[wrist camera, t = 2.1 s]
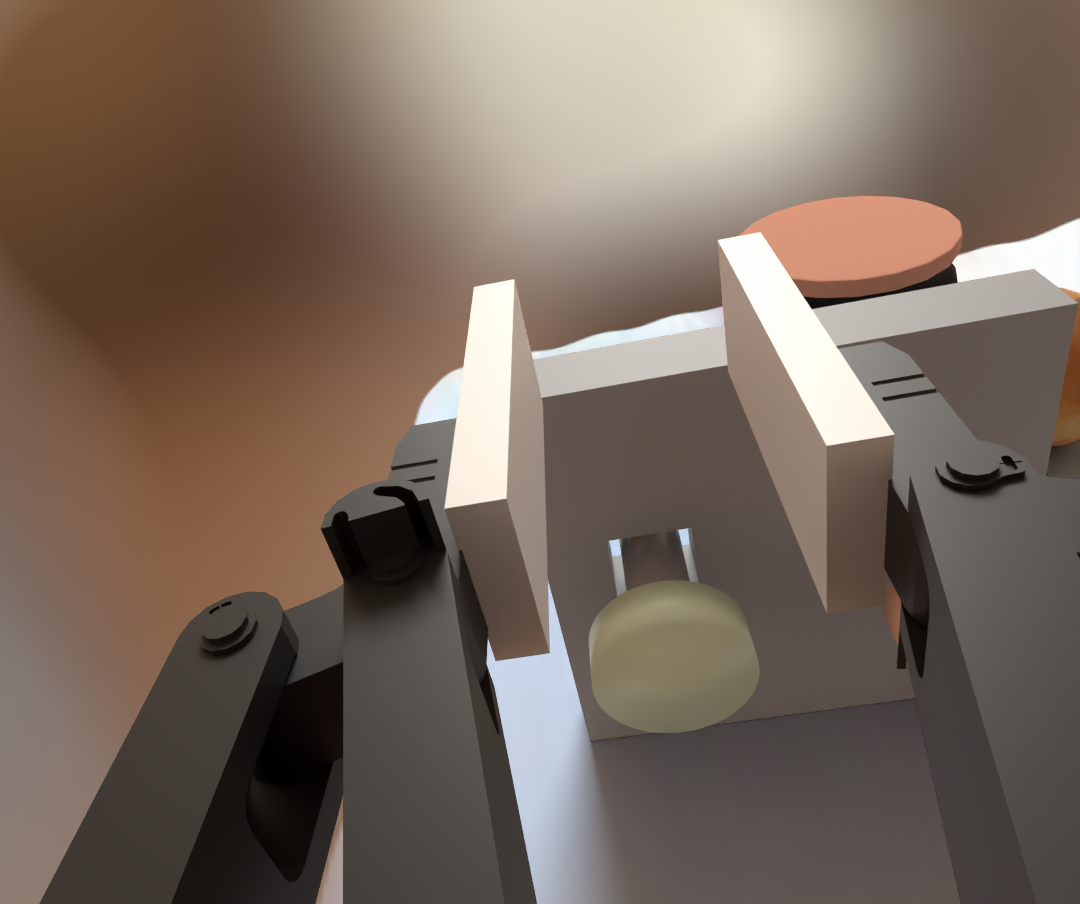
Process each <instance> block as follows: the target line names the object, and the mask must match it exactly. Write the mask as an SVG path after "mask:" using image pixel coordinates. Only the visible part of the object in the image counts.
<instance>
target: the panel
mask: <svg viewBox="0 0 1080 904" xmlns="http://www.w3.org/2000/svg"><path fill="white" fill-rule="evenodd" d="M1077 307H1078V303H1077V302H1076V301H1075V300H1074V299H1072V298H1071V297H1070V296H1068V295H1067V294H1066V293H1064V292H1063V291H1062V290H1060V289H1059V288H1058V287H1057V286H1055V285H1054V284H1053V283H1051V282H1050V281H1049V280H1047V279H1046V278H1045V277H1043V276H1042V275H1041V274H1040V273H1038V272H1037V271H1036V270H1034V269H1031V270H1026V271H1020V272H1015V273H1009V274H1004V275H998V276H993V277H987V278H982V279H976V280H971V281H965V282H960V283H954V284H949V285H943V286H938V287H932V288H927V289H921V290H916V291H910V292H905V293H899V294H894V295H888V296H882V297H877V298H871V299H866V300H860V301H855V302H849V303H844V304H838V305H833V306H827V307H822V308H816V309H812V311H813V312H814V314H815V315H816V317H817V318H818V320H819V321H820V323H821V324H822V326H823V327H824V329H825V330H826V332H827V333H828V335H829V336H830V338H831V339H832V341H833V342H834V344H835V345H836V347H837V348H838V349H840V348H846V347H851V346H857V345H863V344H868V343H874V342H880V341H883V342H885V343H887V344H889V345H891V346H893V347H894V348H896V349H898V350H900V351H902V352H904V353H906V354H908V355H909V356H910V357H911V358H912V359H913V360H914V362H915V363H916V364H917V365H918V367H919V368H920V369H921V370H922V372H923V373H924V377H927V378H928V379H929V380H930V382H931V383H932V384H933V385H934V387H935V388H936V392H937V393H938V392H939V393H940V394H941V395H942V397H943V398H944V399H945V400H946V401H947V403H948V404H949V405H950V406H951V408H952V409H953V410H954V411H955V413H956V414H957V415H958V416H959V418H960V419H961V420H962V421H963V423H964V424H965V425H966V426H967V428H968V429H969V430H970V431H971V433H972V434H973V435H974V436H975V437H976V439H977V440H983V441H987V442H991V443H995V444H998V445H1002V446H1006V447H1008V448H1010V449H1011V450H1013V451H1015V452H1017V453H1019V454H1021V455H1023V456H1024V457H1025V458H1026V459H1027V460H1028V461H1029V463H1030V464H1031V465H1032V466H1033V467H1034V468H1035V470H1036V472H1037V474H1038V475H1042V476H1046V474H1047V469H1048V463H1049V458H1050V452H1051V447H1052V442H1053V436H1054V431H1055V426H1056V420H1057V415H1058V409H1059V404H1060V399H1061V393H1062V388H1063V383H1064V377H1065V372H1066V366H1067V361H1068V356H1069V350H1070V345H1071V340H1072V334H1073V329H1074V323H1075V318H1076V313H1077ZM533 363H534V367H535V372H536V376H537V380H538V385H539V389H540V393H541V398H542V402H543V425H544V461H545V498H546V534H547V571H548V581H549V585H550V589H551V592H552V596H553V600H554V604H555V608H556V611H557V615H558V619H559V623H560V627H561V631H562V634H563V638H564V642H565V646H566V650H567V653H568V657H569V661H570V665H571V669H572V672H573V676H574V680H575V684H576V688H577V692H578V695H579V699H580V703H581V707H582V711H583V714H584V718H585V722H586V726H587V730H588V733H589V737H590V741H597V740H604V739H612V738H619V737H627V736H634V735H642V734H649V733H655V732H648V731H642V730H638V729H634V728H631V727H629V726H626V725H624V724H622V723H620V722H618V721H616V720H615V719H613V718H612V717H610V716H609V715H608V714H607V713H606V712H604V711H603V709H602V708H601V707H600V706H599V704H598V702H597V701H596V699H595V696H594V694H593V689H592V680H591V667H590V654H589V633H590V629H591V626H592V624H593V622H594V620H595V618H596V617H597V615H598V614H599V613H600V611H601V610H602V609H603V608H604V607H605V606H606V605H607V604H608V603H609V602H611V601H612V600H613V599H615V598H616V597H618V596H619V595H621V594H623V593H625V592H627V591H626V584H625V577H624V570H623V563H622V555H620V556H613V557H612V553H611V548H610V543H609V540H616V539H622V538H629V537H635V536H641V535H648V534H654V533H660V532H667V531H673V530H679V529H686V528H688V533H689V541H690V545H684V546H682V549H683V553H684V557H685V562H686V566H687V570H688V575H689V579H690V581H692V582H698V583H702V584H705V585H709V586H712V587H714V588H716V589H718V590H720V591H722V592H724V593H725V594H727V595H728V596H730V597H731V598H732V599H733V600H734V601H735V602H736V603H737V604H738V605H739V606H740V608H741V610H742V611H743V613H744V616H745V618H746V621H747V624H748V628H749V631H750V635H751V638H752V641H753V645H754V648H755V652H756V655H757V658H758V662H759V668H760V675H759V680H758V684H757V686H756V689H755V691H754V693H753V694H752V696H751V697H750V699H749V700H748V701H747V702H746V703H745V704H744V705H743V706H742V707H741V708H740V709H739V710H738V711H736V712H735V713H733V714H732V715H731V716H729V717H727V718H725V719H724V720H722V721H720V722H717V723H715V724H713V725H717V724H725V723H732V722H740V721H747V720H755V719H762V718H770V717H777V716H785V715H792V714H800V713H807V712H815V711H822V710H830V709H837V708H845V707H852V706H860V705H867V704H875V703H883V702H890V701H898V700H905V699H913V698H915V696H914V692H913V687H912V683H911V679H910V674H909V670H908V666H907V664H906V669H897V654H898V646H897V644H896V642H895V639H894V637H893V635H892V633H891V631H890V629H889V627H888V625H887V623H886V620H885V616H884V605H879V606H873V607H866V608H859V609H852V610H845V611H838V612H831V613H827V612H826V610H825V608H824V605H823V603H822V600H821V598H820V595H819V593H818V590H817V588H816V585H815V583H814V581H813V578H812V576H811V573H810V571H809V568H808V566H807V563H806V561H805V559H804V556H803V554H802V551H801V549H800V546H799V544H798V541H797V539H796V536H795V534H794V532H793V529H792V527H791V524H790V522H789V519H788V517H787V514H786V512H785V510H784V507H783V505H782V502H781V500H780V497H779V495H778V492H777V490H776V487H775V485H774V483H773V480H772V478H771V475H770V473H769V470H768V468H767V465H766V463H765V461H764V458H763V456H762V453H761V451H760V448H759V446H758V443H757V441H756V438H755V436H754V434H753V431H752V429H751V426H750V424H749V421H748V419H747V416H746V414H745V412H744V409H743V407H742V404H741V402H740V399H739V397H738V394H737V392H736V389H735V387H734V385H733V382H732V380H731V377H730V375H729V372H728V364H727V351H726V338H725V325H723V326H717V327H712V328H706V329H701V330H695V331H690V332H684V333H679V334H673V335H668V336H662V337H656V338H651V339H645V340H640V341H634V342H629V343H623V344H618V345H612V346H607V347H601V348H596V349H590V350H585V351H579V352H574V353H568V354H563V355H557V356H552V357H546V358H541V359H535V360H533ZM891 584H892V582H891V580H890V578H889V576H888V574H887V585H886V595H887V592H888V590H889V588H890V586H891Z"/></svg>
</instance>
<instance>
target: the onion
mask: <svg viewBox="0 0 1080 904" xmlns="http://www.w3.org/2000/svg"><path fill="white" fill-rule="evenodd" d="M1059 289H1060V290H1062V291H1063V292H1064V293H1066V294H1067V295H1068V296H1070V297H1071V298H1072V299H1074V300H1075V301H1076V302H1077V303H1078V307H1077V313H1076V318H1075V323H1074V329H1073V334H1072V340H1071V345H1070V350H1069V356H1068V361H1067V366H1066V372H1065V377H1064V383H1063V388H1062V393H1061V399H1060V404H1059V409H1058V415H1057V420H1056V426H1055V431H1054V436H1053V442H1052V446H1062V445H1066V444H1069V443H1073V442H1076V441H1078V440H1080V293H1077V292H1074V291H1071V290H1067V289H1063V288H1059Z"/></svg>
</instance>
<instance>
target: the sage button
mask: <svg viewBox="0 0 1080 904" xmlns="http://www.w3.org/2000/svg"><path fill="white" fill-rule="evenodd" d="M619 541H620V548H621V555H622V563H623V570H624V577H625V584H626V591H627V592H625V593H623V594H621V595H619V596H618V597H616V598H615V599H613V600H612V601H611V602H609V603H608V604H607V605H606V606H605V607H604V608H603V609H602V610H601V611H600V613H599V614H598V615H597V617H596V618H595V620H594V622H593V624H592V626H591V629H590V633H589V654H590V667H591V680H592V689H593V694H594V696H595V699H596V701H597V702H598V704H599V706H600V707H601V708H602V709H603V711H604V712H606V713H607V714H608V715H609V716H610V717H612V718H613V719H615V720H616V721H618V722H620V723H622V724H624V725H626V726H629V727H631V728H634V729H638V730H642V731H648V732H655V733H679V732H687V731H693V730H697V729H701V728H704V727H707V726H710V725H713V724H715V723H717V722H720V721H722V720H724V719H725V718H727V717H729V716H731V715H732V714H733V713H735V712H736V711H738V710H739V709H740V708H741V707H742V706H743V705H744V704H745V703H746V702H747V701H748V700H749V699H750V697H751V696H752V694H753V693H754V691H755V689H756V686H757V684H758V680H759V675H760V668H759V662H758V658H757V655H756V652H755V648H754V645H753V641H752V638H751V635H750V631H749V628H748V624H747V621H746V618H745V616H744V613H743V611H742V610H741V608H740V606H739V605H738V604H737V603H736V602H735V601H734V600H733V599H732V598H731V597H730V596H728V595H727V594H725V593H724V592H722V591H720V590H718V589H716V588H714V587H712V586H709V585H705V584H702V583H698V582H692V581H690V579H689V575H688V570H687V566H686V562H685V557H684V553H683V549H682V544H681V540H680V536H679V531H678V530H673V531H667V532H660V533H654V534H648V535H641V536H635V537H629V538H622V539H619Z"/></svg>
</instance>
